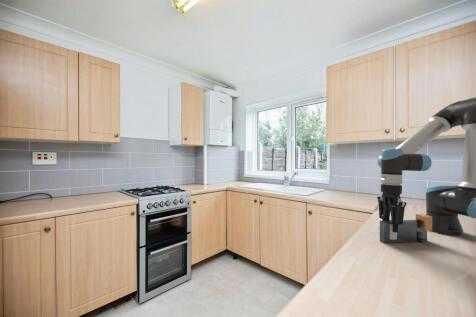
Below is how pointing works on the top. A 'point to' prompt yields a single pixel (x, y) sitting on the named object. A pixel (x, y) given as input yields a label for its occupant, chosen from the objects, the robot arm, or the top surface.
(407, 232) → the tongs hinged arm
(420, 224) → the arm
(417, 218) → the orange slotted clip
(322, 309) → the top surface
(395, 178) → the robot arm
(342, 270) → the top surface
